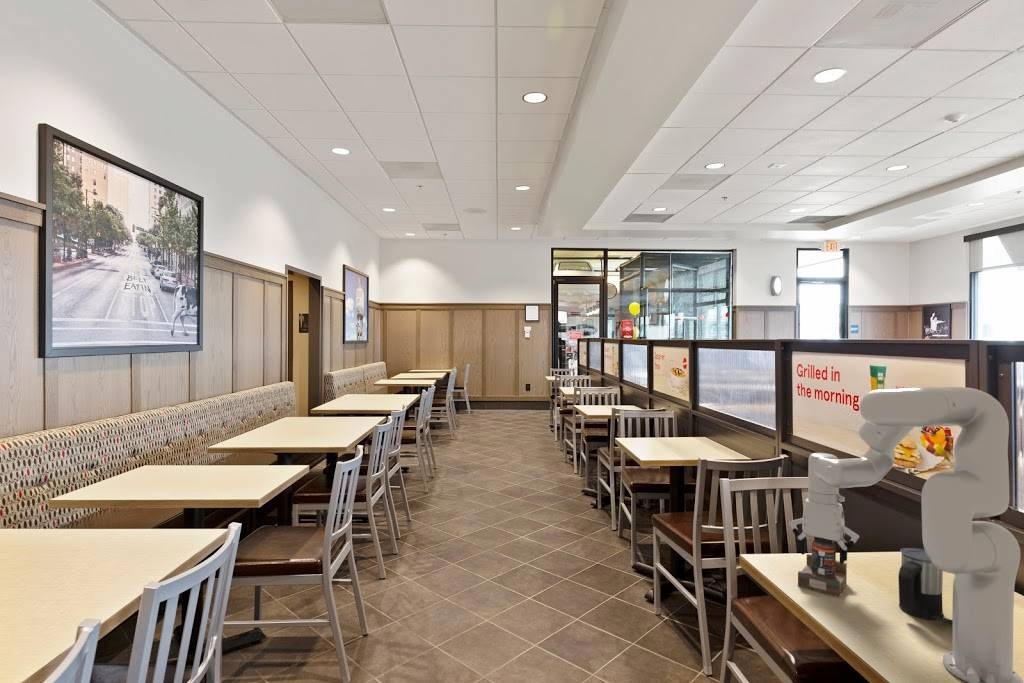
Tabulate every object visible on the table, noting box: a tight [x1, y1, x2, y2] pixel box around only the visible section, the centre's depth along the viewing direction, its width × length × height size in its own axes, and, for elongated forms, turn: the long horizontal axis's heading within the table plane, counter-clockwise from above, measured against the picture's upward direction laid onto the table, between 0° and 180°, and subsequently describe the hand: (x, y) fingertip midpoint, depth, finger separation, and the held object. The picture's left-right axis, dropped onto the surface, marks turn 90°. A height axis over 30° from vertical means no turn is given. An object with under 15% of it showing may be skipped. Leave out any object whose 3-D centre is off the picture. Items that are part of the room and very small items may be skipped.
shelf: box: [797, 553, 848, 598], centre depth 152 cm, size 12×10×6 cm
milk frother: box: [898, 547, 952, 625], centre depth 133 cm, size 14×16×15 cm
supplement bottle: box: [811, 537, 837, 579], centre depth 152 cm, size 6×6×11 cm
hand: (822, 557), depth 152 cm, fingers open, 9 cm apart
